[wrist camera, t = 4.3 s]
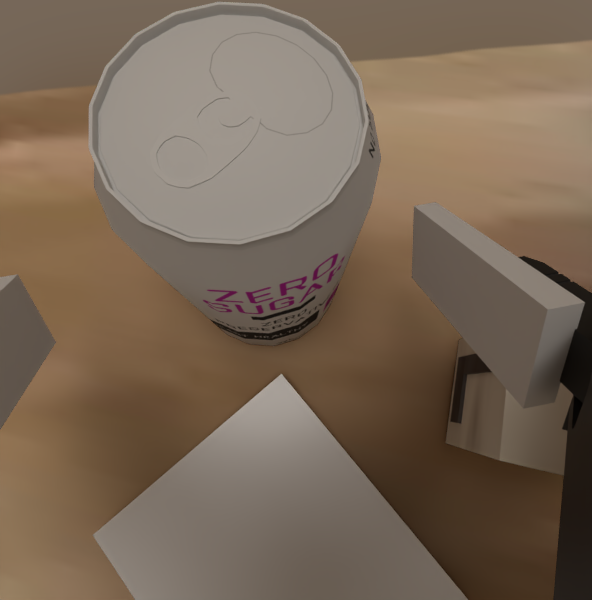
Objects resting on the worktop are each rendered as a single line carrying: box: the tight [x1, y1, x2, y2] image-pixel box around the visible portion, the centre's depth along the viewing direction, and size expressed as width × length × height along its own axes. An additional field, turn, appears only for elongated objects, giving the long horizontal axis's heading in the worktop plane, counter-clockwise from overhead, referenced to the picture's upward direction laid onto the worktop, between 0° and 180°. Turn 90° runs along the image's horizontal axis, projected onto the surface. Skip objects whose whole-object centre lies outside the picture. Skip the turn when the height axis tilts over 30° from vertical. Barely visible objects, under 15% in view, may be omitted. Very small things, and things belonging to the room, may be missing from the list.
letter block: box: [446, 338, 573, 476], centre depth 20 cm, size 6×6×6 cm
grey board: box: [93, 374, 468, 600], centre depth 20 cm, size 15×12×2 cm
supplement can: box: [89, 2, 381, 346], centre depth 17 cm, size 8×8×15 cm
